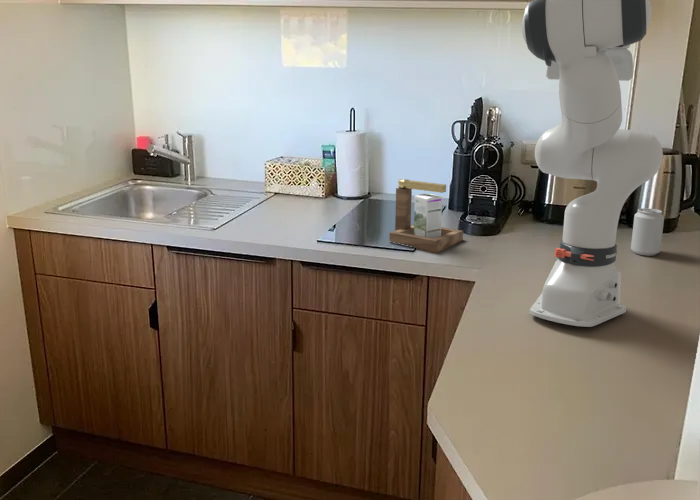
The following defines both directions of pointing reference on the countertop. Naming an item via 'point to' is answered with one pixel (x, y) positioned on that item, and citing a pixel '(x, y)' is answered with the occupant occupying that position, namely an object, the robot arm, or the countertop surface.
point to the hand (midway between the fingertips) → (586, 99)
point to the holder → (406, 231)
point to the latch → (422, 185)
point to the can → (647, 231)
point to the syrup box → (427, 215)
